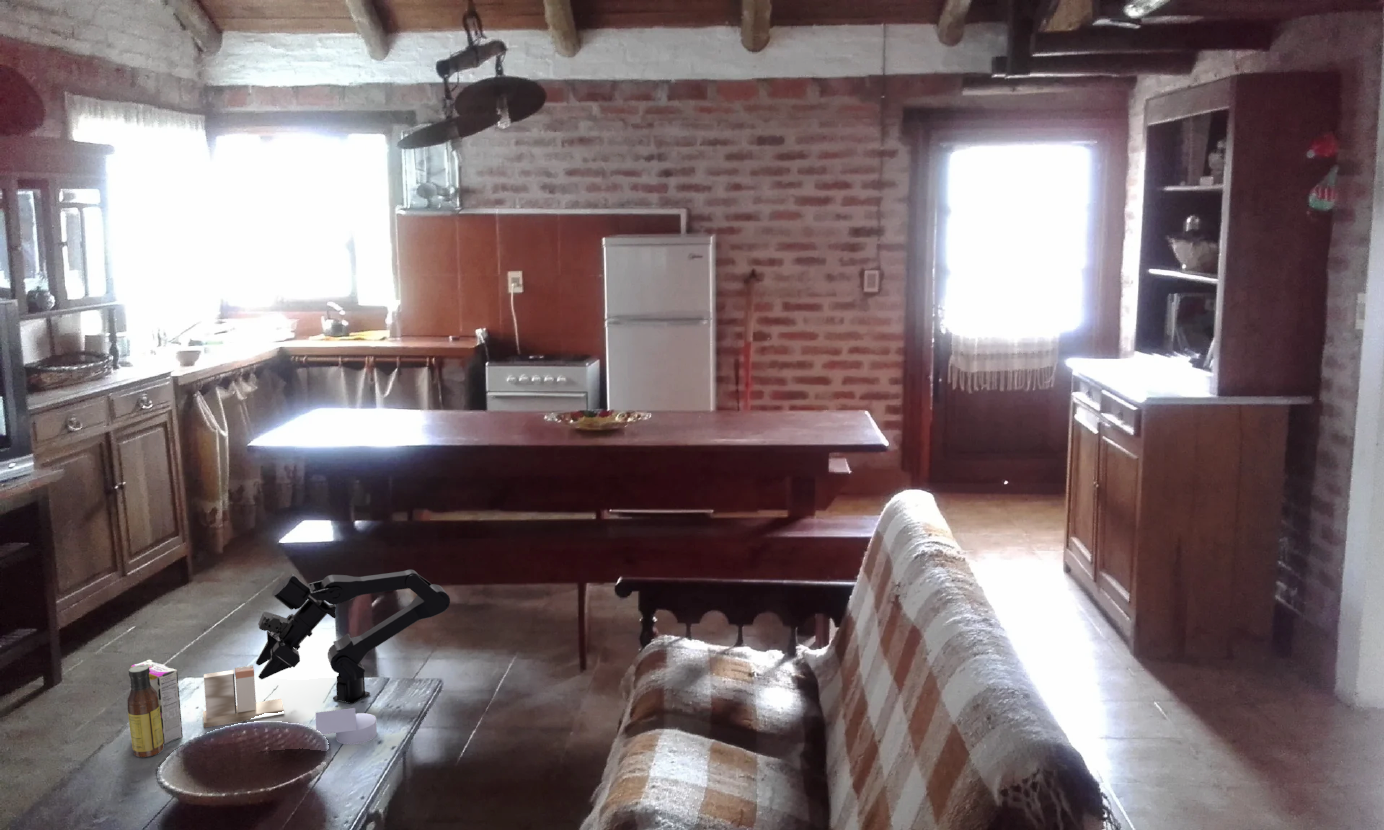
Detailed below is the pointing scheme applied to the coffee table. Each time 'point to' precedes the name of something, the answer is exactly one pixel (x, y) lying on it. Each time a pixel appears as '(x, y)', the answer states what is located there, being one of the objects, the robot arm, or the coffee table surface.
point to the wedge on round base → (347, 725)
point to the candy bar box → (166, 698)
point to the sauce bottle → (144, 714)
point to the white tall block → (245, 688)
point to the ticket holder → (229, 701)
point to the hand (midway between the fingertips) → (258, 671)
